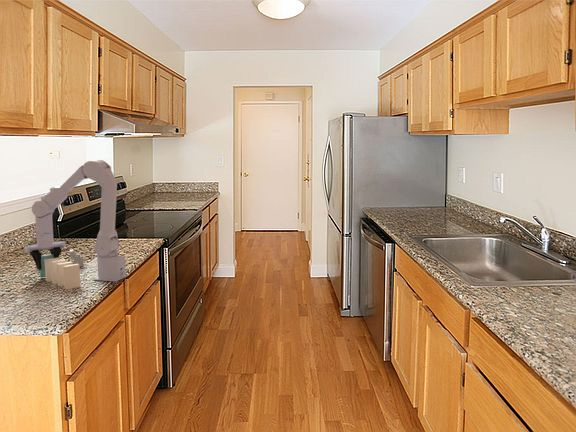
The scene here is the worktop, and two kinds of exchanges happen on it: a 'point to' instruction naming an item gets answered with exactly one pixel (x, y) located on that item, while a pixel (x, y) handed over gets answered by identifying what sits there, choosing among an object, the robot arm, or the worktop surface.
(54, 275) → the domino
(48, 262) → the domino
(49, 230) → the robot arm
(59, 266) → the domino
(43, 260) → the end tile
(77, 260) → the grey angular flat piece
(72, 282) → the domino
